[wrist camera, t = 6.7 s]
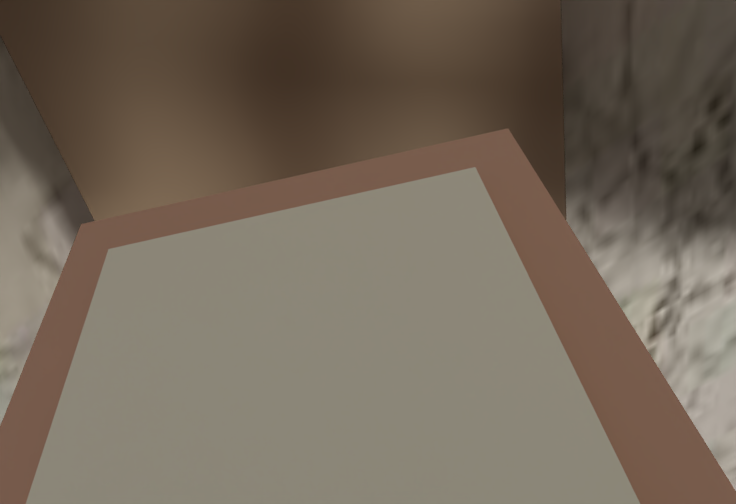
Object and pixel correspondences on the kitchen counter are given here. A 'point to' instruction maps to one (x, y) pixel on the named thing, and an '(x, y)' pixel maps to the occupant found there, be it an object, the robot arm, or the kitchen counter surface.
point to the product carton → (348, 352)
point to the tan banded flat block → (280, 87)
